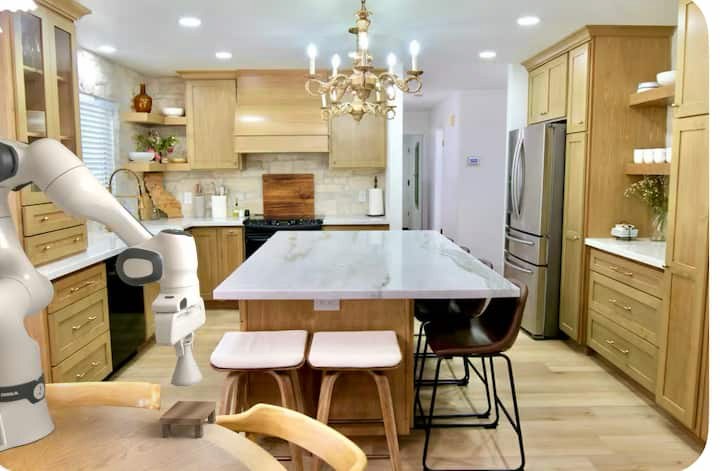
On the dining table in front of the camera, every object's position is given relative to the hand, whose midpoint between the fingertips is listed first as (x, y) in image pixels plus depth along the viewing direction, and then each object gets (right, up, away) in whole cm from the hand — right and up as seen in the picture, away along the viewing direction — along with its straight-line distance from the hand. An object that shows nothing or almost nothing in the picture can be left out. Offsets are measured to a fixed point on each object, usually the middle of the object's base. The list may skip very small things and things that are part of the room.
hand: (184, 352), depth 133 cm
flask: (0, -7, +1) cm, 8 cm away
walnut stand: (+1, -19, +2) cm, 19 cm away
